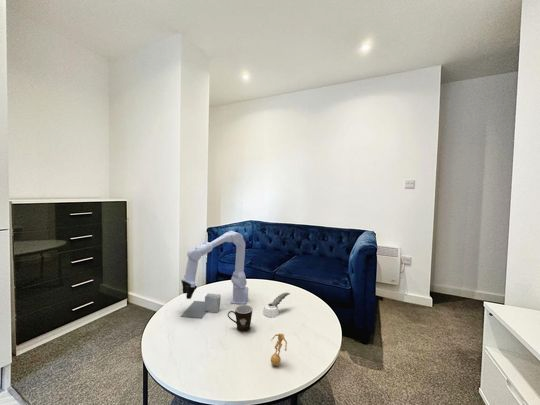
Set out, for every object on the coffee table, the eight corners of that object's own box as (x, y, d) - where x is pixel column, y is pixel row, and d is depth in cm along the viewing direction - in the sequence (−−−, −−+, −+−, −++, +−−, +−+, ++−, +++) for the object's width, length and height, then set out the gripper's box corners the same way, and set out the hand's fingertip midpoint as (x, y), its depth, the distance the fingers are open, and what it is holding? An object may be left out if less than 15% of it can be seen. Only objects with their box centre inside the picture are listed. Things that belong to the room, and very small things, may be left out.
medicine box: (220, 309, 137) (221, 294, 136) (217, 313, 132) (218, 297, 132) (206, 307, 137) (207, 292, 137) (204, 311, 133) (204, 296, 133)
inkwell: (259, 312, 135) (260, 294, 134) (284, 303, 145) (284, 288, 145) (269, 319, 127) (269, 301, 127) (294, 310, 138) (294, 293, 137)
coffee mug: (255, 326, 120) (255, 307, 120) (246, 335, 113) (247, 315, 112) (235, 320, 125) (236, 302, 125) (226, 328, 117) (226, 309, 117)
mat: (213, 302, 144) (213, 302, 144) (201, 318, 126) (201, 317, 126) (194, 301, 145) (194, 300, 145) (180, 316, 127) (180, 316, 127)
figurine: (264, 361, 96) (265, 332, 95) (275, 354, 100) (276, 326, 100) (279, 373, 90) (280, 342, 89) (290, 365, 94) (291, 336, 93)
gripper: (180, 267, 133) (176, 291, 133) (187, 275, 122) (182, 301, 121) (192, 267, 137) (188, 290, 137) (200, 275, 125) (196, 300, 125)
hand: (186, 295), depth 129 cm, fingers open, 7 cm apart
